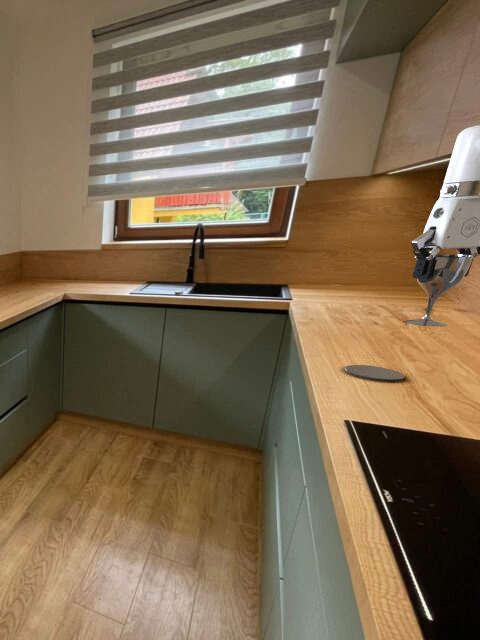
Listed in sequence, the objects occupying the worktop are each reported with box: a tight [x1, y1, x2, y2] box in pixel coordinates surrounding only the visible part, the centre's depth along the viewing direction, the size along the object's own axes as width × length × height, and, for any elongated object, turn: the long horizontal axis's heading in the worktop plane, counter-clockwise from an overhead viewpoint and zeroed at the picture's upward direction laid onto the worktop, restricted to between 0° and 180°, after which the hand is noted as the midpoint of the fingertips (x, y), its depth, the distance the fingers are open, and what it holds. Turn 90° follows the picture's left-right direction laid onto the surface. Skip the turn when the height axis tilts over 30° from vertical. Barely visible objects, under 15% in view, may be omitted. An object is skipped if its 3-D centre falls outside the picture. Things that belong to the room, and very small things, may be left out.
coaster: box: [343, 364, 405, 383], centre depth 100 cm, size 10×10×1 cm
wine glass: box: [403, 254, 473, 328], centre depth 96 cm, size 8×8×15 cm
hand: (439, 276), depth 95 cm, fingers closed on wine glass, 8 cm apart
